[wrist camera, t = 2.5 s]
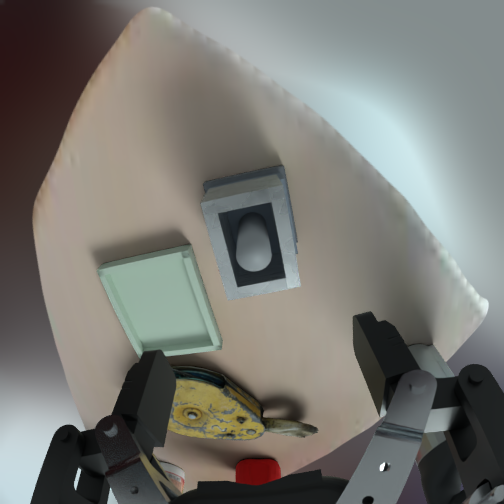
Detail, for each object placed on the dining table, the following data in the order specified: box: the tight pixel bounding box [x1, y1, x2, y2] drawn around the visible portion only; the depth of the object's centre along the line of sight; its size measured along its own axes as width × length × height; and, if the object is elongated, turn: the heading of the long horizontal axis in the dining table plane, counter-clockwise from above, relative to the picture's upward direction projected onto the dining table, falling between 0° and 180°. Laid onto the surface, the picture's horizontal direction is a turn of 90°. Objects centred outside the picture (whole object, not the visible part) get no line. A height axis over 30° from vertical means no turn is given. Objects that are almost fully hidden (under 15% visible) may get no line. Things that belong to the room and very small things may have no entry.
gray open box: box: [200, 174, 301, 300], centre depth 24 cm, size 6×8×5 cm
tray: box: [97, 244, 223, 358], centre depth 35 cm, size 12×14×2 cm
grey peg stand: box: [203, 165, 298, 271], centre depth 26 cm, size 8×8×12 cm
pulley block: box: [140, 356, 319, 440], centre depth 40 cm, size 14×6×30 cm
